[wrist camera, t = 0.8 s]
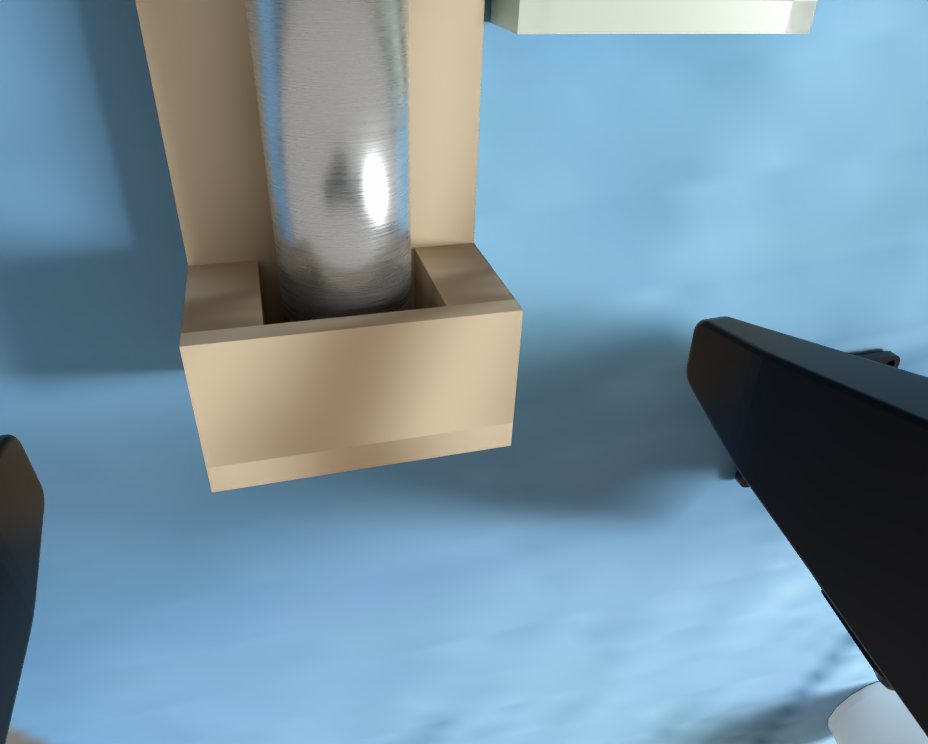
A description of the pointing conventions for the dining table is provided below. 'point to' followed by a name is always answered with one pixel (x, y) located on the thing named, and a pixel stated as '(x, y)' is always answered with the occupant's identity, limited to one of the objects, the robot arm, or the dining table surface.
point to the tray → (654, 16)
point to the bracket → (343, 338)
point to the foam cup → (875, 719)
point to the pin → (336, 151)
